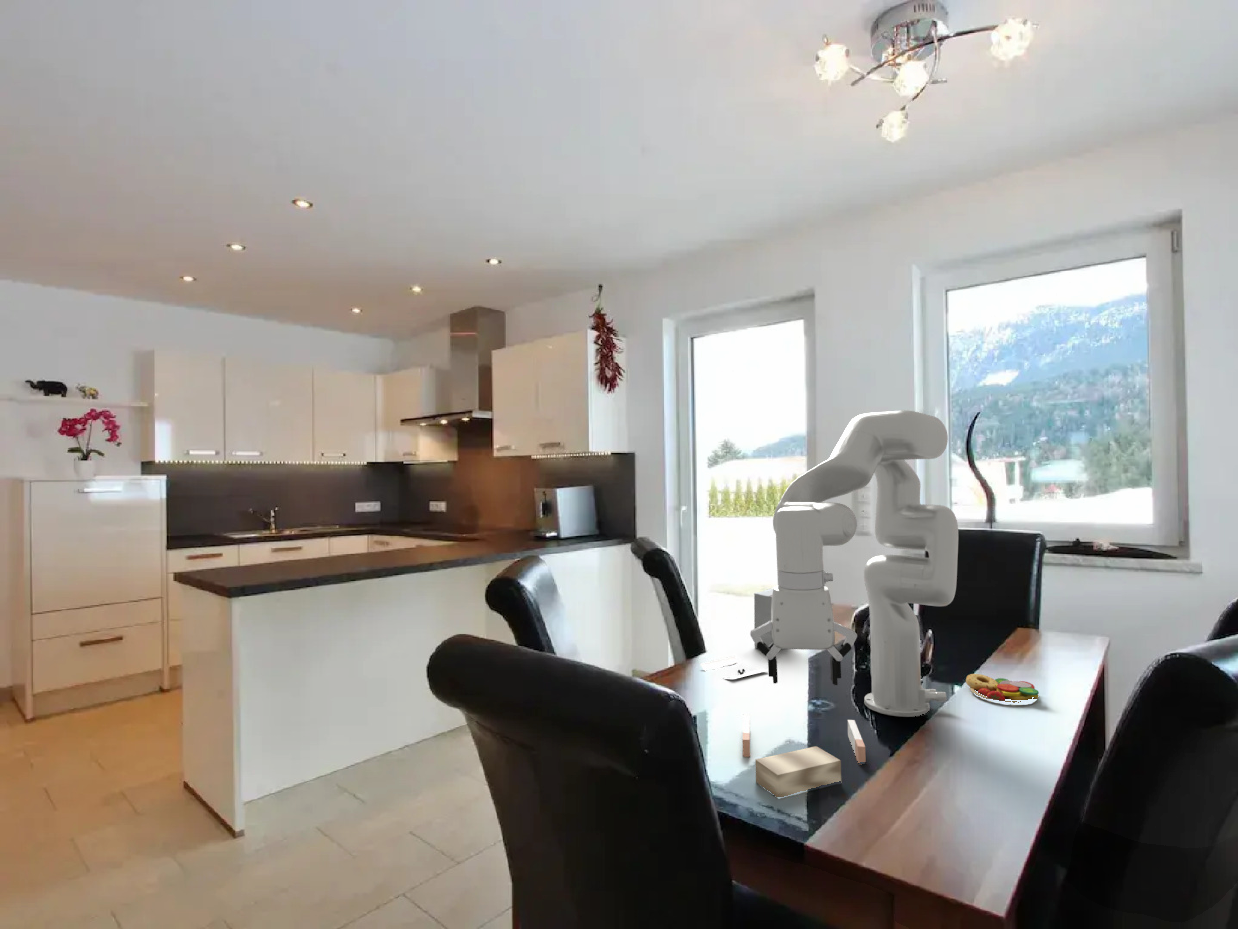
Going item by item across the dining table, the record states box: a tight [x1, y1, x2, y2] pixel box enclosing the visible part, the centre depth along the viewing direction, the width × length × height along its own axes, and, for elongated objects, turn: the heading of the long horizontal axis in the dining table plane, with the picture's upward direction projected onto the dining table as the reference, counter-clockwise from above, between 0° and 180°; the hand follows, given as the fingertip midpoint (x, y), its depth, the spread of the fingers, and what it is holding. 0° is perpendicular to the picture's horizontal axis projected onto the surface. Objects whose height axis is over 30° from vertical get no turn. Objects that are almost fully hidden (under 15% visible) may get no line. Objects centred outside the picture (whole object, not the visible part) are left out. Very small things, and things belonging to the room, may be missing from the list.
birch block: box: [754, 745, 842, 798], centre depth 105 cm, size 12×6×4 cm, turn 112°
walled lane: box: [742, 713, 867, 764], centre depth 119 cm, size 20×12×3 cm, turn 79°
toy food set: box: [965, 673, 1040, 703], centre depth 142 cm, size 13×13×3 cm
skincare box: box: [753, 588, 773, 649], centre depth 184 cm, size 8×7×16 cm
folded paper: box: [699, 655, 769, 680], centre depth 164 cm, size 12×12×2 cm
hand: (804, 681), depth 111 cm, fingers open, 9 cm apart
